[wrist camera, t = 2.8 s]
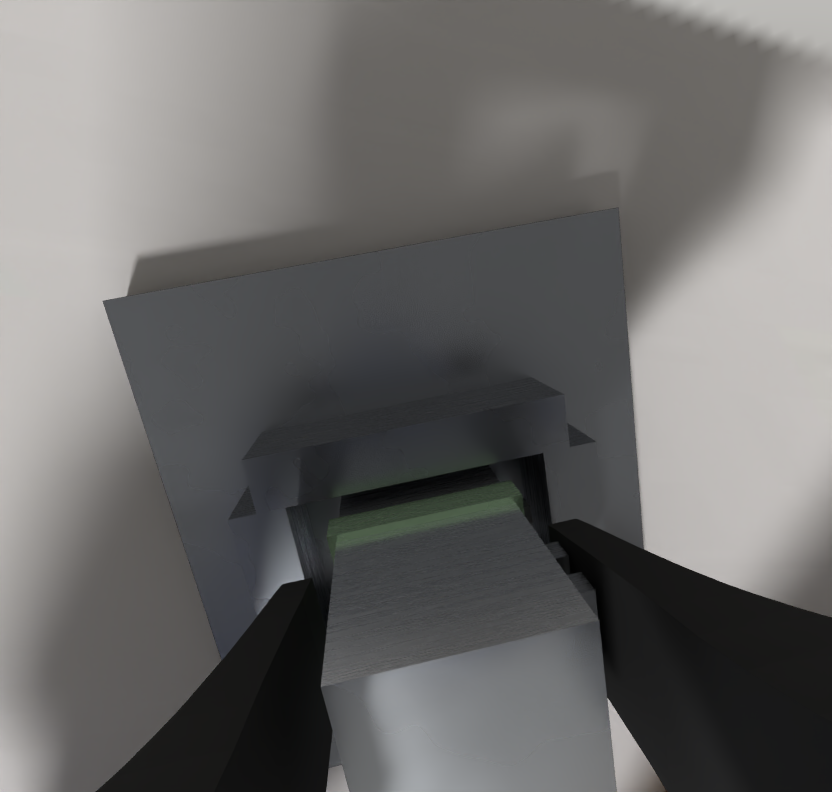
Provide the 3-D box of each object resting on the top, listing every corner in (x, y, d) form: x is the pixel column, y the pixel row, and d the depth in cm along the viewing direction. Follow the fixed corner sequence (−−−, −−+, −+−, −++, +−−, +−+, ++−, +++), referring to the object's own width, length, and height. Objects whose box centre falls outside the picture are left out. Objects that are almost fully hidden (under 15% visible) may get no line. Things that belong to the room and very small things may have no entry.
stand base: (635, 661, 16) (865, 975, 8) (269, 751, 15) (182, 1179, 8) (598, 214, 12) (921, 109, 5) (124, 299, 11) (-265, 315, 4)
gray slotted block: (518, 568, 13) (661, 825, 7) (366, 602, 13) (369, 905, 7) (498, 439, 12) (643, 598, 6) (335, 474, 12) (305, 679, 6)
